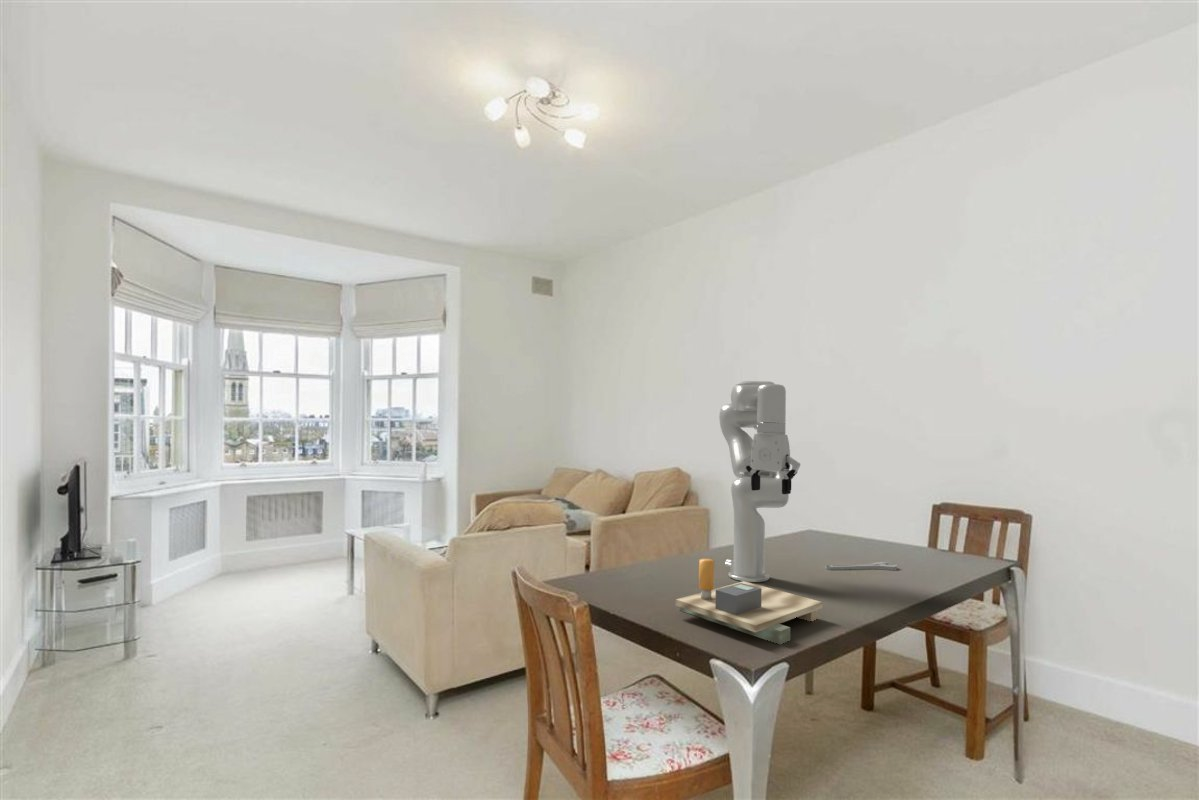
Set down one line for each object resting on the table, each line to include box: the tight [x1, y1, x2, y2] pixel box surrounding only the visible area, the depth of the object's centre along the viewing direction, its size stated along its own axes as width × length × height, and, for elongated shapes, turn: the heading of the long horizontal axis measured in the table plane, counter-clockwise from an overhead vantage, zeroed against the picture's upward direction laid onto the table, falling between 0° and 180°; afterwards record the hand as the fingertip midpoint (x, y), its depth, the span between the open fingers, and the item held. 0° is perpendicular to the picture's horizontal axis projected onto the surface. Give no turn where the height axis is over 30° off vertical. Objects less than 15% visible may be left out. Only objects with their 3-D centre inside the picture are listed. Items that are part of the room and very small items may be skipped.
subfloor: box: [675, 581, 823, 646], centre depth 152 cm, size 30×28×4 cm
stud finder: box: [716, 582, 762, 615], centre depth 146 cm, size 6×10×5 cm, turn 130°
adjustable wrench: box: [824, 561, 898, 571], centre depth 207 cm, size 25×6×2 cm, turn 93°
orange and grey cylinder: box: [698, 558, 715, 599], centre depth 154 cm, size 4×4×10 cm
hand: (770, 491), depth 166 cm, fingers open, 9 cm apart
